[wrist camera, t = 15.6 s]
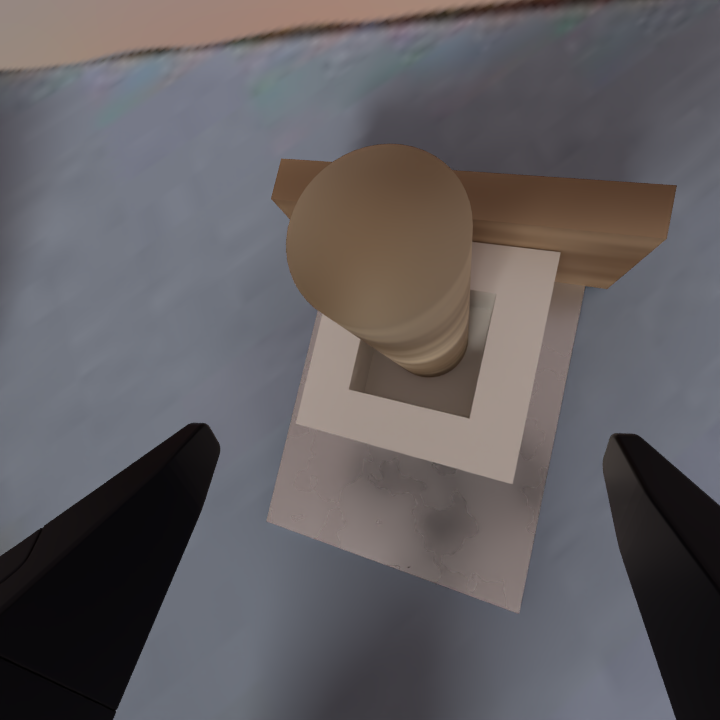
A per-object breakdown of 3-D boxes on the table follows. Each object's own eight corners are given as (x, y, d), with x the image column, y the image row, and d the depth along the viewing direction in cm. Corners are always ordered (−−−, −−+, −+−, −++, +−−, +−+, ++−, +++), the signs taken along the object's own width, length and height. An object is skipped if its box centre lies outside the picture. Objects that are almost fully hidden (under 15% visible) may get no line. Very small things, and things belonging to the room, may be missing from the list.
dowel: (482, 325, 20) (512, 186, 8) (442, 391, 20) (404, 363, 8) (416, 290, 21) (346, 118, 9) (377, 353, 21) (254, 272, 9)
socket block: (503, 470, 20) (512, 484, 16) (323, 421, 22) (295, 423, 19) (543, 280, 20) (560, 252, 17) (362, 255, 23) (343, 226, 19)
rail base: (538, 615, 19) (575, 717, 13) (256, 513, 24) (180, 551, 17) (610, 255, 20) (676, 185, 14) (328, 222, 25) (281, 158, 18)
